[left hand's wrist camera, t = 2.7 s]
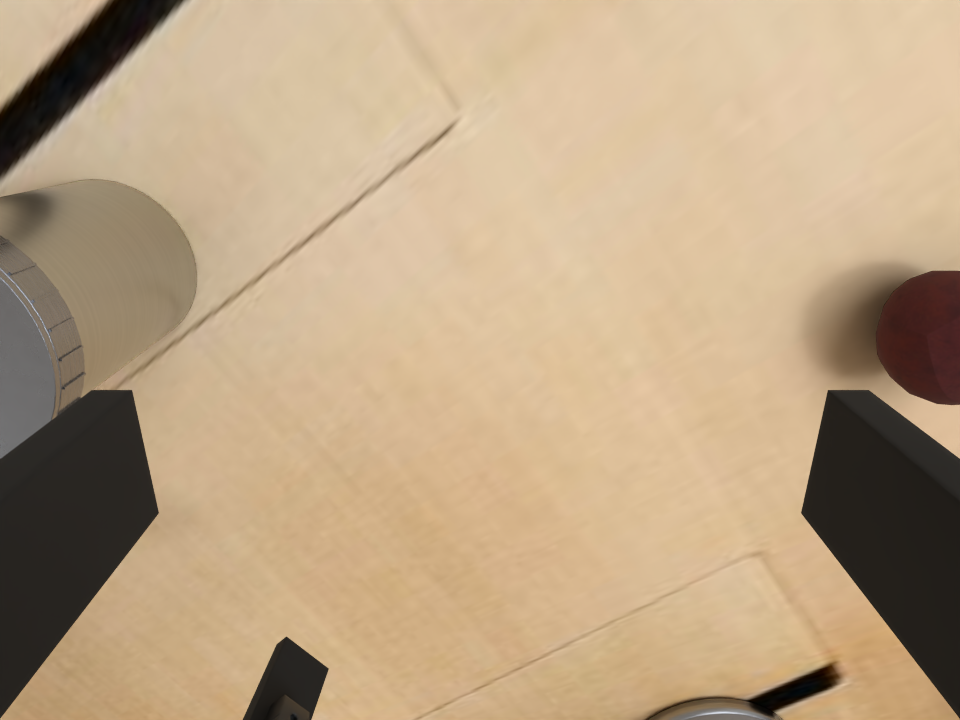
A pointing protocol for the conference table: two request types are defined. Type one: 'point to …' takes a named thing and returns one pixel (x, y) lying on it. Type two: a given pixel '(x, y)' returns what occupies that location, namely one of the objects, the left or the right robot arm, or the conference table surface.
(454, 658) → the conference table surface
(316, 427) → the conference table surface
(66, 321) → the lid
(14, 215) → the jar
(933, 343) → the dark red ball
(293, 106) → the conference table surface
